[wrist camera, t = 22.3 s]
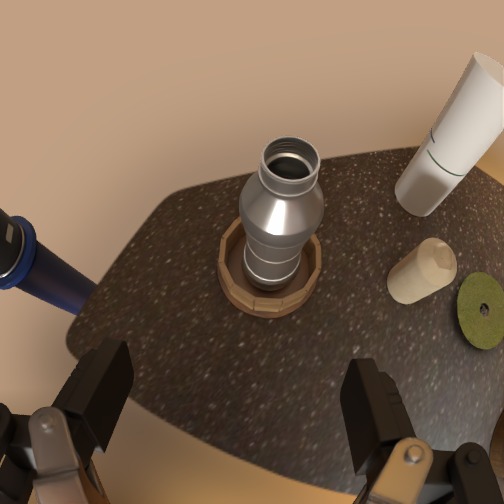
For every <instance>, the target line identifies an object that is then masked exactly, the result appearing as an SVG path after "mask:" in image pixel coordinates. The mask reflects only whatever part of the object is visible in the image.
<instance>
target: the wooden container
mask: <svg viewBox="0 0 504 504" xmlns="http://www.w3.org/2000/svg"><path fill="white" fill-rule="evenodd" d="M490 462H491V465H492V468H493V471H494V473H495V474H496V475H498V476H500V477H503V478H504V411H503V413H502V415H501V417H500V419H499V421H498V423H497V426H496V428H495V431H494V435H493V438H492V443H491V449H490Z"/></svg>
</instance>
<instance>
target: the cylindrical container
mask: <svg viewBox="0 0 504 504" xmlns="http://www.w3.org/2000/svg"><path fill="white" fill-rule="evenodd" d="M503 129H504V67H503V66H502V65H501V64H500V63H498V62H497V61H495V60H494V59H493V58H491V57H489V56H487V55H485V54H483V53H480V52H475V53H474V54H473V56H472V58H471V60H470V62H469V64H468V65H467V67H466V69H465V71H464V73H463V75H462V77H461V78H460V80H459V82H458V84H457V86H456V88H455V89H454V91H453V93H452V94H451V96H450V98H449V100H448V102H447V103H446V105H445V107H444V108H443V110H442V112H441V113H440V115H439V117H438V118H437V120H436V122H435V123H434V125H433V127H432V128H431V130H430V131H429V133H428V135H427V136H426V138H425V139H424V141H423V143H422V144H421V146H420V147H419V149H418V151H417V152H416V154H415V155H414V157H413V158H412V160H411V161H410V163H409V164H408V166H407V168H406V169H405V171H404V172H403V174H402V175H401V177H400V178H399V180H398V181H397V183H396V185H395V195H396V198H397V200H398V202H399V203H400V205H401V206H402V207H403V208H404V209H405V210H406V211H407V212H409V213H410V214H412V215H415V216H418V217H424V216H427V215H429V214H430V213H431V212H432V211H433V210H434V209H435V208H436V207H437V206H438V205H439V204H440V203H441V202H442V201H443V200H444V199H445V197H446V196H447V195H448V194H449V193H450V192H451V191H452V190H453V189H454V188H455V186H456V185H457V184H458V183H459V182H460V181H461V180H462V179H463V178H464V176H465V175H466V174H467V173H468V172H469V171H470V170H471V168H472V167H473V166H474V165H475V164H476V163H477V161H478V160H479V159H480V158H481V157H482V155H483V154H484V153H485V152H486V151H487V149H488V148H489V147H490V146H491V145H492V143H493V142H494V141H495V140H496V138H497V137H498V136H499V135H500V133H501V132H502V131H503Z"/></svg>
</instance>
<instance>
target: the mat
mask: <svg viewBox="0 0 504 504" xmlns="http://www.w3.org/2000/svg"><path fill="white" fill-rule="evenodd" d="M457 311H458V318H459V323H460V326H461V329H462V331H463V333H464V335H465V336H466V338H467V339H468V341H469V342H470V343H471V344H472V345H474V346H475V347H477V348H481V349H490V348H493V347H495V346H496V345H497V344H498V343H499V342H500V341H501V340H502V338H503V337H504V292H503V290H502V288H501V286H500V285H499V283H498V282H496V280H495V279H494V278H493V277H492V276H490V275H489V274H486V273H483V272H475V273H472V274H470V275H469V276H468V277H467V278H466V279H465V281H464V282H463V283H462V286H461V287H460V289H459V294H458V301H457Z"/></svg>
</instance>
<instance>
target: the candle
mask: <svg viewBox="0 0 504 504" xmlns="http://www.w3.org/2000/svg"><path fill="white" fill-rule="evenodd" d="M456 271H457V263H456V258H455V255H454V253H453V251H452V249H451V248H450V247H449V246H448V245H447V244H446V243H445V242H444V241H442V240H440V239H437V238H428V239H426V240H424V241H423V242H422V243H421V244H420V245H419V246H417V247H416V248H415V249H414V250H413V251H412V252H410V253H409V254H408V255H407V256H406V257H405V258H403V259H402V260H401V261H400V262H399V263H397V264H396V265H395V266H394V267H393V268H392V269H391V270H390V272H389V274H388V277H387V287H388V290H389V292H390V294H391V296H392V297H393V298H394V299H395V300H396V301H398V302H399V303H402V304H411V303H414V302H416V301H418V300H420V299H422V298H424V297H426V296H428V295H429V294H431V293H433V292H435V291H437V290H439V289H441V288H442V287H444V286H446V285H448V284H449V283H451V282H452V281H453V279H454V278H455V275H456Z"/></svg>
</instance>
